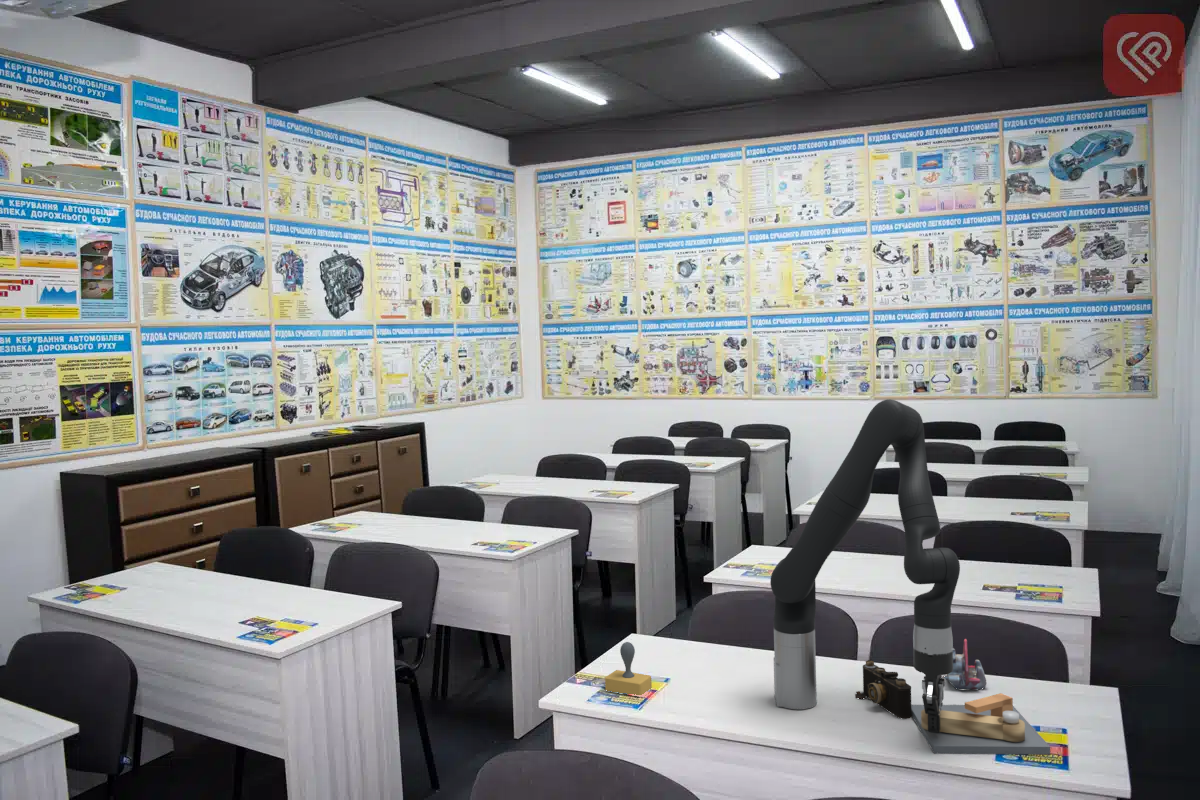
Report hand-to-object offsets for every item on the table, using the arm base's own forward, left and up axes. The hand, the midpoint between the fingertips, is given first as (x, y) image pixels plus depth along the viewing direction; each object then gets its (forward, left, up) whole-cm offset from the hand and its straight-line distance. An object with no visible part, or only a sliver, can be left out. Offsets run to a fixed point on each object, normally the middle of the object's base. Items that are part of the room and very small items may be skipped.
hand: (934, 731), depth 183 cm
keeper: (+12, +5, -1) cm, 13 cm away
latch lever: (+8, +2, -1) cm, 8 cm away
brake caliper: (+15, +33, -3) cm, 36 cm away
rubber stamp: (-64, +29, -3) cm, 70 cm away
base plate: (+10, +6, -3) cm, 12 cm away
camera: (-6, +20, -3) cm, 21 cm away
